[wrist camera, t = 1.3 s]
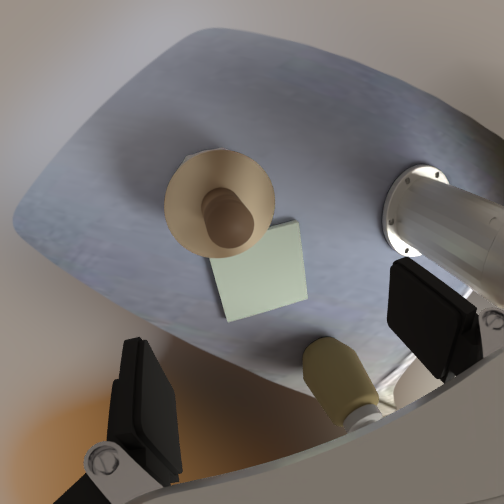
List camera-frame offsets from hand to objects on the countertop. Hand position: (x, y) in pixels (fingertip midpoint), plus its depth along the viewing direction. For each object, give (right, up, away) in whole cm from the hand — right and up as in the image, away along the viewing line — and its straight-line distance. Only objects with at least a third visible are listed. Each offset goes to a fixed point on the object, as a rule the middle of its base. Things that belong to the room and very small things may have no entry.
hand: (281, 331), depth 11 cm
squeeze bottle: (+9, -12, +32) cm, 36 cm away
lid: (-4, +7, +15) cm, 17 cm away
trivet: (0, +1, +24) cm, 24 cm away
